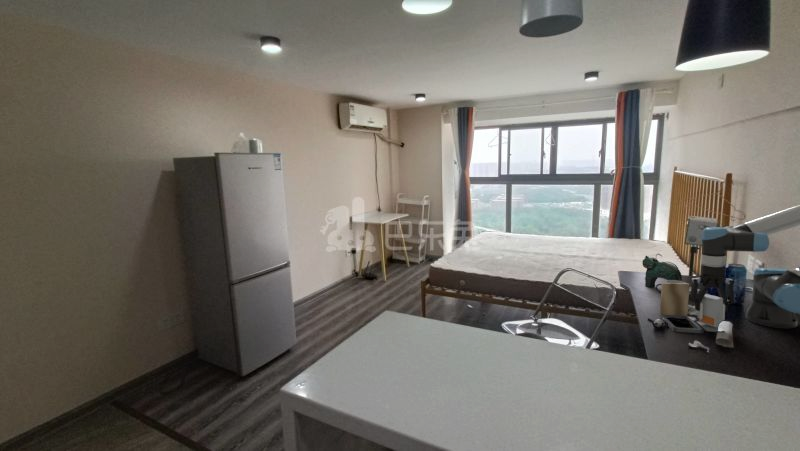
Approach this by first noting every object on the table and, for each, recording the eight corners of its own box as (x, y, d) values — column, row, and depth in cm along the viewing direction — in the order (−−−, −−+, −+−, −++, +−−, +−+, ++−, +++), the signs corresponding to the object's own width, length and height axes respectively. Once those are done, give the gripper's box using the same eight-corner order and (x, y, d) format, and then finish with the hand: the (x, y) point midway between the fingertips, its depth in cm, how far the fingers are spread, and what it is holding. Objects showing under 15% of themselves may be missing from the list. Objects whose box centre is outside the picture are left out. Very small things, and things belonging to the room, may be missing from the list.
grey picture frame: (687, 319, 157) (687, 315, 156) (703, 333, 143) (703, 329, 142) (660, 317, 160) (660, 314, 160) (673, 331, 146) (673, 328, 146)
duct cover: (687, 315, 156) (686, 314, 157) (689, 284, 153) (688, 283, 154) (660, 314, 160) (659, 313, 160) (662, 283, 157) (661, 282, 157)
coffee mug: (688, 301, 175) (689, 282, 174) (682, 306, 171) (683, 286, 169) (661, 296, 185) (662, 278, 184) (654, 300, 180) (655, 281, 179)
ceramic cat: (640, 285, 203) (641, 252, 201) (649, 284, 205) (650, 250, 203) (676, 295, 185) (678, 258, 182) (685, 293, 186) (686, 257, 184)
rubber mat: (713, 323, 151) (713, 322, 151) (724, 332, 142) (724, 331, 142) (696, 322, 153) (696, 321, 153) (706, 331, 144) (706, 330, 144)
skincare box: (698, 322, 149) (699, 295, 148) (705, 320, 151) (706, 293, 149) (715, 327, 144) (716, 299, 142) (722, 325, 145) (723, 297, 143)
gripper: (737, 262, 144) (735, 316, 147) (680, 262, 151) (678, 313, 154) (748, 267, 137) (745, 323, 140) (688, 266, 144) (686, 320, 147)
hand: (710, 318), depth 147 cm, fingers closed on skincare box, 7 cm apart
